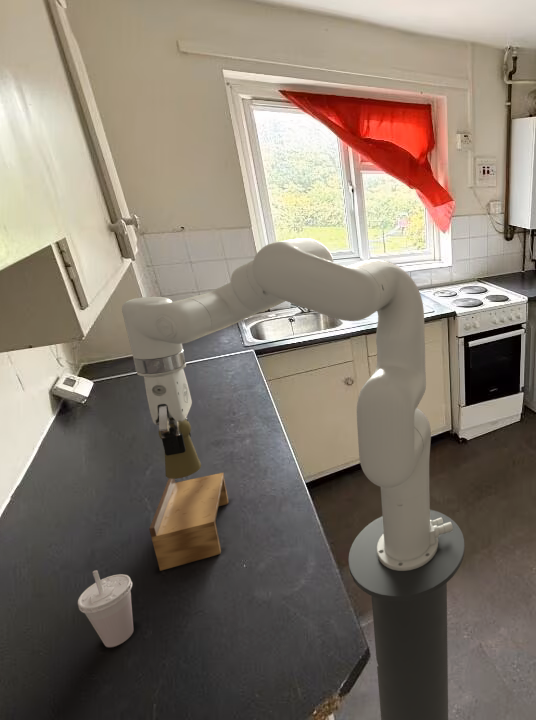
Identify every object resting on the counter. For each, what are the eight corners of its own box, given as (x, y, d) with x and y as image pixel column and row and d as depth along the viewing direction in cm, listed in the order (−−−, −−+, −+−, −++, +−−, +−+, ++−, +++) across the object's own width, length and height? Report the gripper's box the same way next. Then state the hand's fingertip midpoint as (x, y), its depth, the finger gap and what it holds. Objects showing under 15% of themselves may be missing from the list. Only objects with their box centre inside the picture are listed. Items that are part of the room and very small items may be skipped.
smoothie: (81, 656, 66) (56, 586, 62) (115, 618, 72) (94, 552, 68) (123, 655, 67) (101, 585, 63) (153, 617, 73) (135, 552, 69)
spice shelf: (228, 500, 102) (221, 465, 99) (220, 553, 86) (212, 513, 83) (178, 513, 97) (169, 475, 94) (159, 571, 82) (149, 528, 79)
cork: (200, 473, 86) (190, 425, 83) (163, 482, 83) (151, 432, 80) (202, 458, 91) (193, 412, 88) (167, 466, 88) (156, 419, 85)
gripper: (175, 374, 75) (194, 463, 80) (191, 346, 89) (206, 423, 95) (121, 381, 71) (144, 473, 77) (147, 351, 86) (165, 430, 91)
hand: (178, 445), depth 86 cm, fingers closed on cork, 5 cm apart
